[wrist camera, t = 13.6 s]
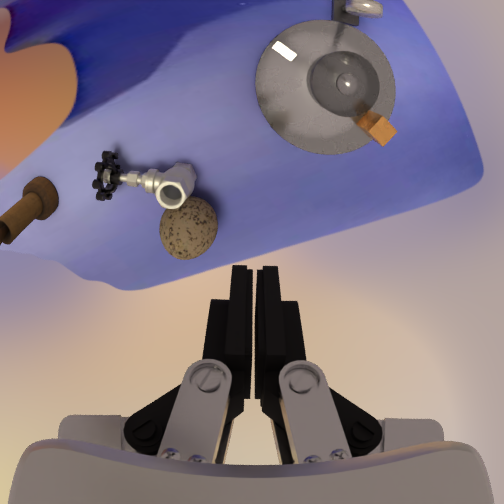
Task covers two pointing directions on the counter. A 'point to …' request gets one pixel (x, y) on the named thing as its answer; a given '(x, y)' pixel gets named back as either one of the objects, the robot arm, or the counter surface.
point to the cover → (343, 83)
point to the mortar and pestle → (28, 208)
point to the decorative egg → (188, 228)
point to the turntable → (300, 101)
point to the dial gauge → (355, 10)
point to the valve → (146, 181)
